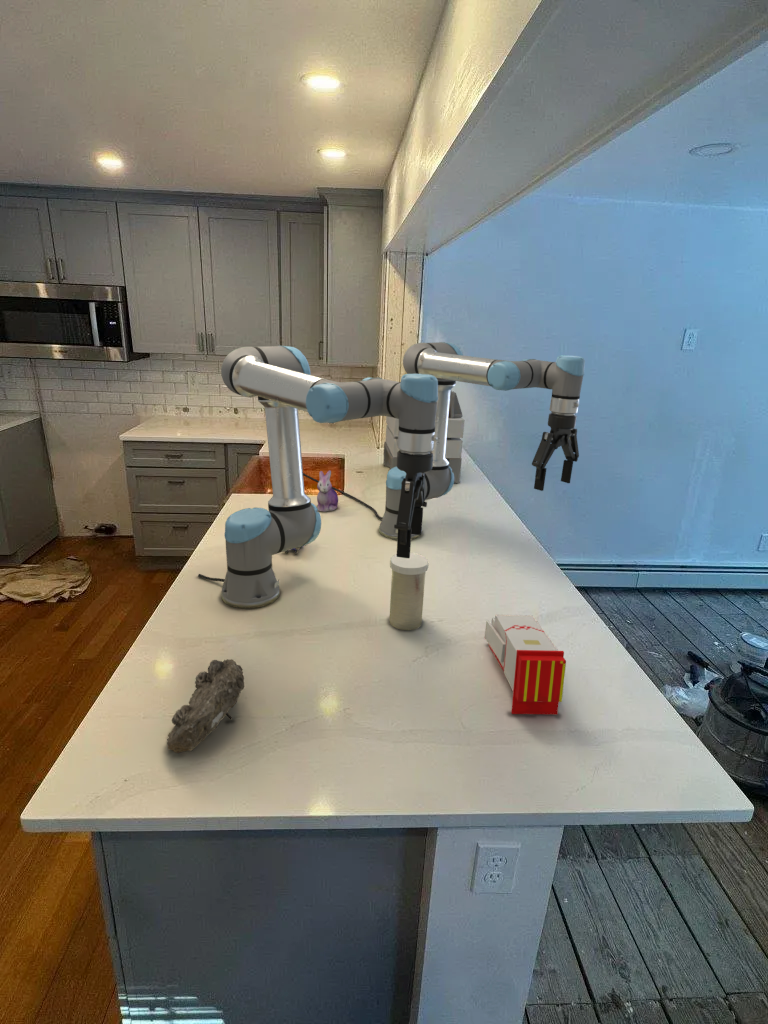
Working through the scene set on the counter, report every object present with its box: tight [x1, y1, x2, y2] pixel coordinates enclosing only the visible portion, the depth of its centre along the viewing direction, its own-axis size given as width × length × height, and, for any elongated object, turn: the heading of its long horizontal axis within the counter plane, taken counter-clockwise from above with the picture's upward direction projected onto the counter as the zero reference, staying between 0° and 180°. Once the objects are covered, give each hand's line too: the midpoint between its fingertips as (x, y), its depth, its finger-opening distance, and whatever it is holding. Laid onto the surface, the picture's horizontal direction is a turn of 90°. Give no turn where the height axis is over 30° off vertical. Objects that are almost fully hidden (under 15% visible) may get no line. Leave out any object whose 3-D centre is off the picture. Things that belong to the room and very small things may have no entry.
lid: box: [389, 552, 430, 575], centre depth 138 cm, size 9×9×2 cm
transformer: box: [383, 390, 465, 484], centre depth 268 cm, size 34×33×41 cm
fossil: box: [166, 658, 245, 754], centre depth 106 cm, size 22×10×15 cm
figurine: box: [316, 469, 339, 512], centre depth 219 cm, size 9×10×15 cm
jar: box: [388, 569, 426, 631], centre depth 141 cm, size 8×8×17 cm
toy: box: [484, 614, 567, 716], centre depth 124 cm, size 12×13×30 cm
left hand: (409, 545), depth 125 cm, fingers open, 13 cm apart
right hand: (552, 485), depth 166 cm, fingers open, 13 cm apart
